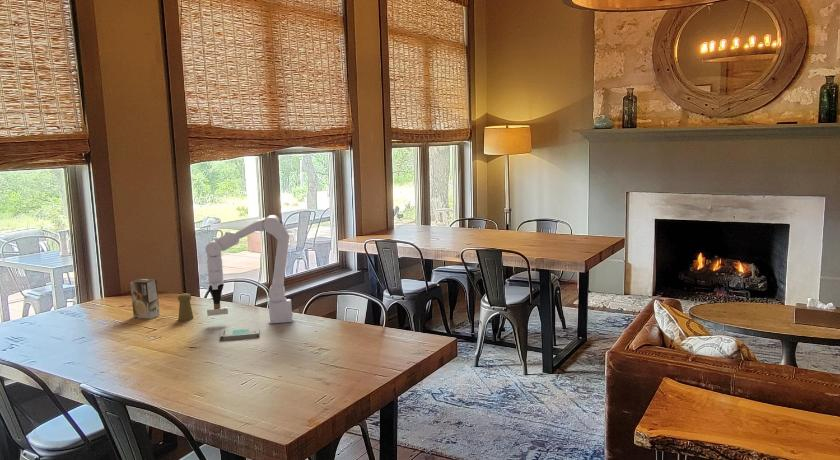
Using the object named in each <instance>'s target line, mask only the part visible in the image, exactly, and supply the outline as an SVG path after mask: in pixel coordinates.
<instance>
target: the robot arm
mask: <svg viewBox="0 0 840 460" xmlns="http://www.w3.org/2000/svg"><path fill="white" fill-rule="evenodd" d="M264 231H265V232H266V233H269V235H272V237H274V239H276V240H277V243H276V252H275V258H274V260H275V261H274V268H273V275H272V283H271V285H270V286H269V291H268V314H269V316H268V324H270V325H271V324H279V323H280V324H281V323H292V322H293V310H292V299H290V298H287V297H286V296H285V291H286V287H285V274H286V273H285V272H286V266H287V265H286V264H287V258H288V250H289V249H288V248H289V244H290V243H289V242H290V234H289V232H288V230H287V228H286V226H285V224H284V222H283V220H282V219H281V218H280V217H279V216H278V215H276V214H269V215H267V216H266V217H262V218H260V219H257V220H254V222H252V223H250V224H248V225H246V226H244V227H243V228H241V229H239V230H237V231H232V230H231V231H226V232H224V234H223V235H221V236H219V237H215V238H214V240H210V242H208V243H207V244H206V246H205V253H206V257H207V260H206V264H207V279H208V280H205V285H207V284H208V285H209V286H208V291H209V293H210V294H211V297H212V301H214V302H213V305H214V304H220V305H221V301H222V300H221V299H222V292H223V289H224V287H225V286H224V285H225V284H224V282H225V280H224V273H223V272H224V271H223V270H224V269H223V259H222V251H223V252H225V251H226V250H228V249H231V248H233V247H234V246H237V245H238V244H239V242H240V240H241V239H242V238H245V237H247V236H249V235H251V234H253V233H255V232H264Z"/></svg>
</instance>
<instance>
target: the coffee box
mask: <svg viewBox="0 0 840 460" xmlns="http://www.w3.org/2000/svg"><path fill="white" fill-rule="evenodd" d="M157 280H158V279H154V278H137V279H136V278H135V279H133V280H132V281H130V293H131V294H130V295H131V303H132V304H131V305H132V313H133V318H134V317H138V318H137V319H148V320H149V319H150V320H151V319H153V318H156V317H158V316H160V305H159V303H160V302H159V293H158V283H157Z"/></svg>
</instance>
